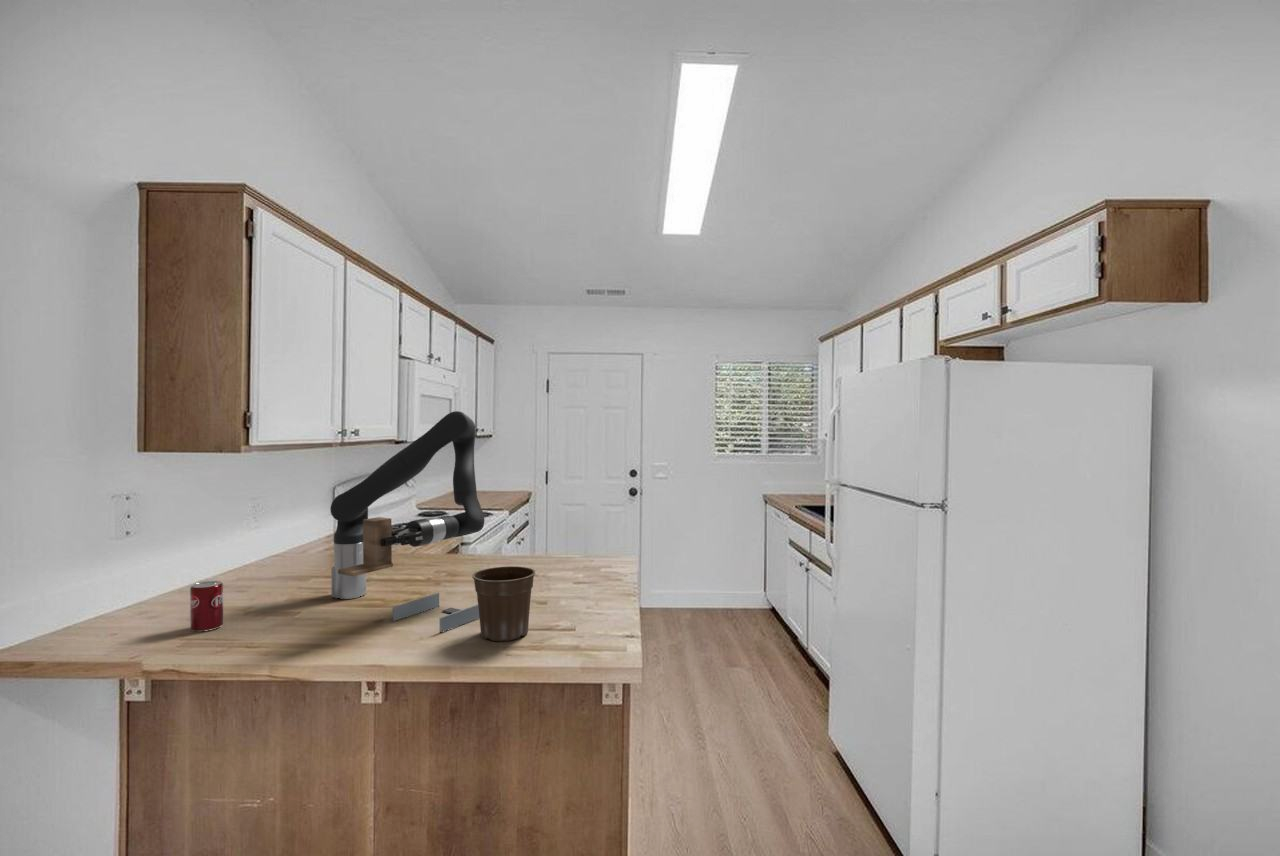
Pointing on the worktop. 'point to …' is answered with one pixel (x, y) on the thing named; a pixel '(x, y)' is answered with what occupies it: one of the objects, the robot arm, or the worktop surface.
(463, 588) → the worktop surface
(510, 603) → the plant pot
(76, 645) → the worktop surface
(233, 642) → the worktop surface
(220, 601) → the soda can
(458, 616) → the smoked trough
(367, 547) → the walnut post stand
